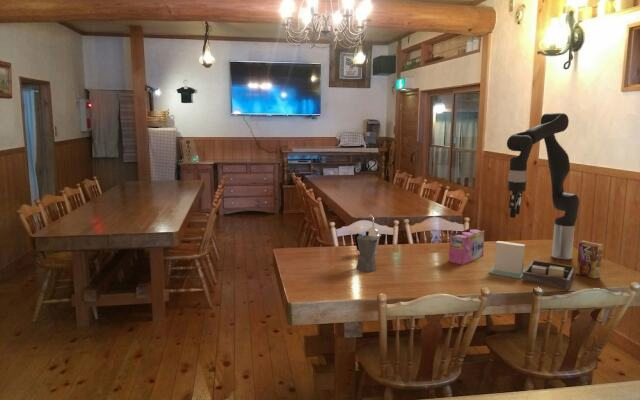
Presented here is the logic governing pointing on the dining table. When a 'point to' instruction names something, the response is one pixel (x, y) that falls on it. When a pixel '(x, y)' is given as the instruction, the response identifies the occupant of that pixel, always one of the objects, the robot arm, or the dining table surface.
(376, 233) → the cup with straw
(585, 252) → the candy box
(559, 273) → the birch offcut
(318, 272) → the dining table surface
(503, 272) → the teal mat
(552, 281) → the tray
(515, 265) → the white square slab
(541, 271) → the grey mdf offcut
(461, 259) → the pink multipack
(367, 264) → the coffeepot
